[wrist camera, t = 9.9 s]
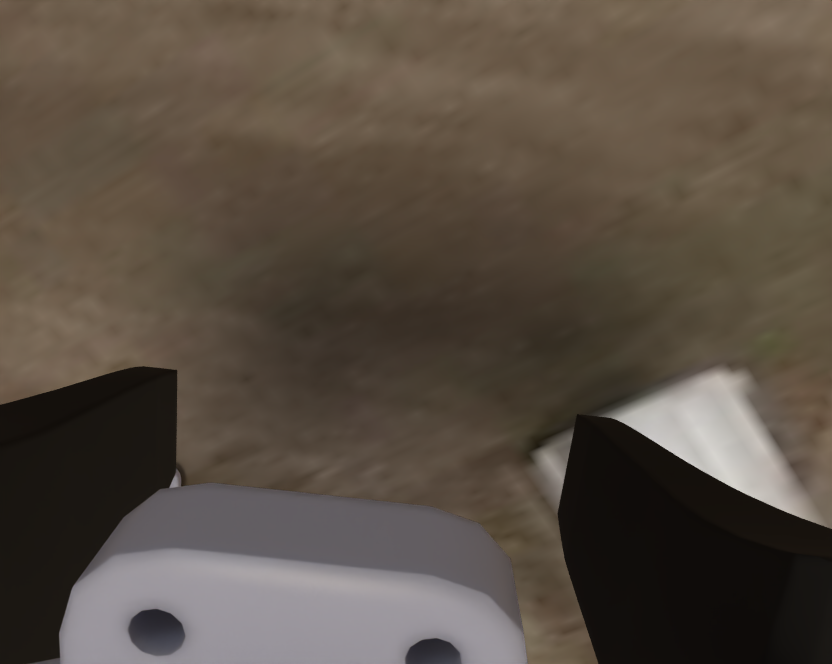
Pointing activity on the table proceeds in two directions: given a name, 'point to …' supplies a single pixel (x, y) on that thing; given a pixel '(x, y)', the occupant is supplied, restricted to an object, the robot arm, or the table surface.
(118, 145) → the table surface
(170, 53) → the table surface
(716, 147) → the table surface
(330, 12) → the table surface
